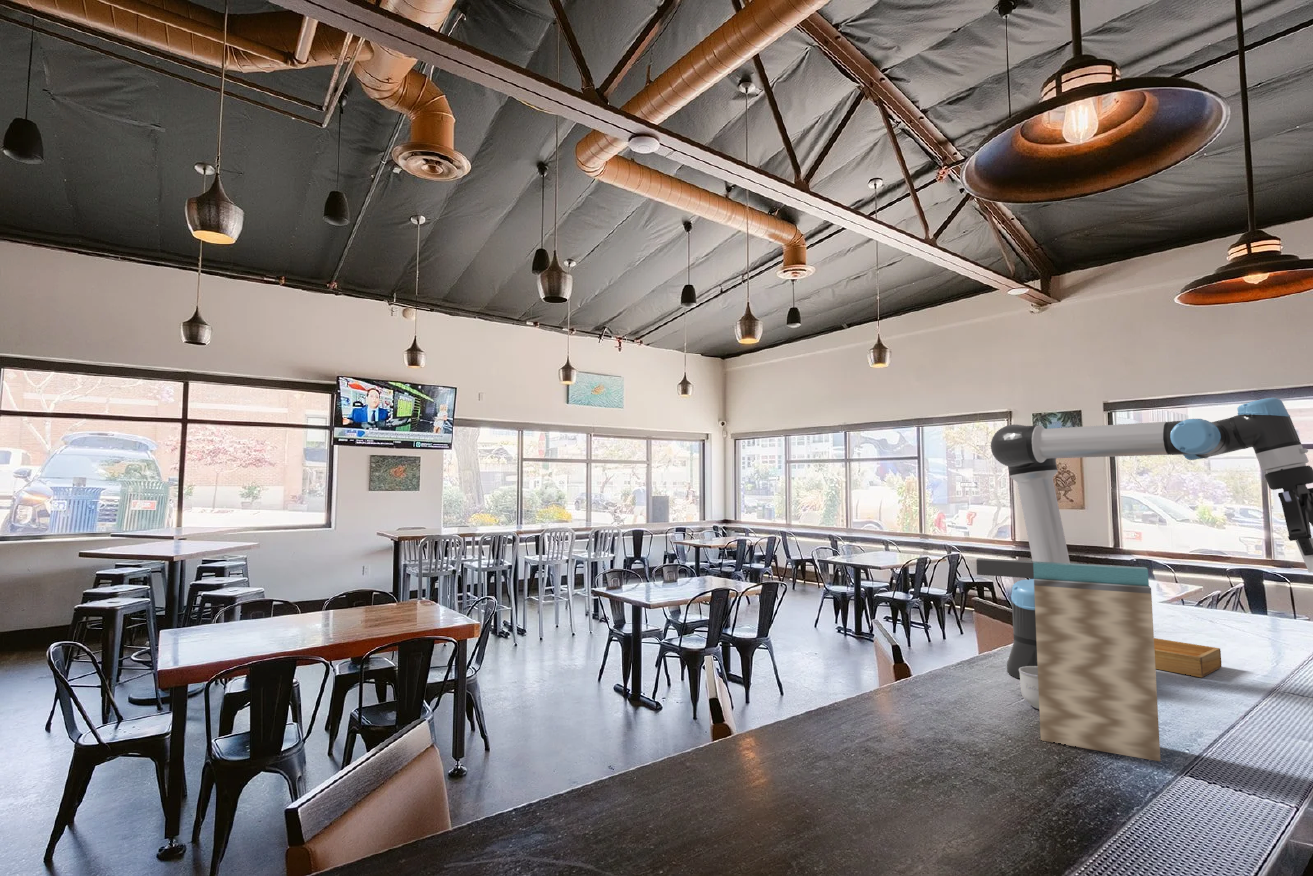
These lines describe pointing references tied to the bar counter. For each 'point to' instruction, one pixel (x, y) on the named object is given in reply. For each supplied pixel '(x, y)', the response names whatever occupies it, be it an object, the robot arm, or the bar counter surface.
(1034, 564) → the teal and grey bar
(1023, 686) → the teacup
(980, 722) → the bar counter surface
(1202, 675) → the tray
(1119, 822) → the bar counter surface
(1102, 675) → the pedestal
